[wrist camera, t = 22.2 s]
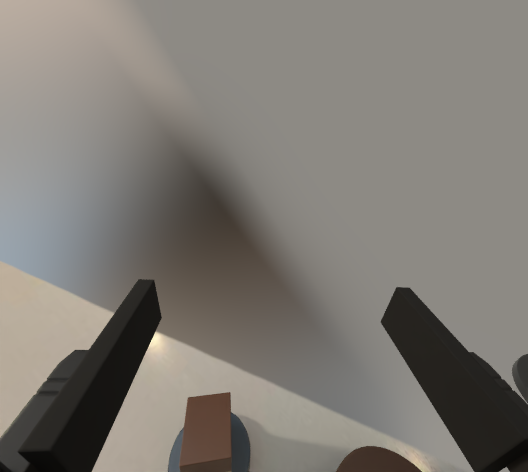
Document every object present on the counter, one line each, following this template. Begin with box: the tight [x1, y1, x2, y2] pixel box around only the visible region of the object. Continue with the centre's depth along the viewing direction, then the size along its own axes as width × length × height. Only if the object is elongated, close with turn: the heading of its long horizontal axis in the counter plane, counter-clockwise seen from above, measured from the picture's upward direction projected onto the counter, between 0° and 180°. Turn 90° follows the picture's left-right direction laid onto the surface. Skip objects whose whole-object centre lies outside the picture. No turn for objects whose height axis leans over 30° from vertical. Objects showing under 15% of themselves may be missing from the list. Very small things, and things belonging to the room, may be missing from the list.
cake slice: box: [179, 392, 232, 472], centre depth 26 cm, size 6×5×8 cm
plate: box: [168, 412, 250, 472], centre depth 28 cm, size 10×10×1 cm
